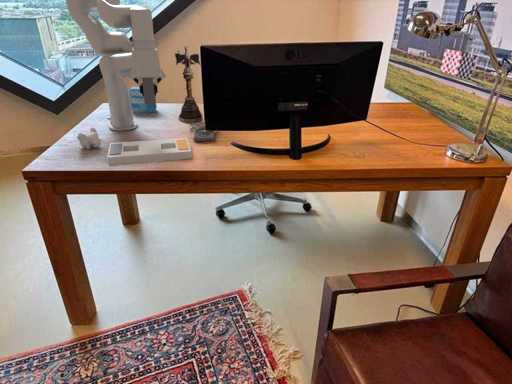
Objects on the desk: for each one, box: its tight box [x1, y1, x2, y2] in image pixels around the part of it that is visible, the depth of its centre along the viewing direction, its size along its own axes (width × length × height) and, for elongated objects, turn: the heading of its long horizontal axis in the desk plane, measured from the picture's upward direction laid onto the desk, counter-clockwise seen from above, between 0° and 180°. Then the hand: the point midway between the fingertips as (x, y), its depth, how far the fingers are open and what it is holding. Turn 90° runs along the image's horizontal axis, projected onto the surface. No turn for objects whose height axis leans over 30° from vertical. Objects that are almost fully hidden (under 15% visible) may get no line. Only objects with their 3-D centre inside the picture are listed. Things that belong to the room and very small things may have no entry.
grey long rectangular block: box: [142, 78, 155, 104], centre depth 139 cm, size 4×4×14 cm
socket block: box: [107, 137, 192, 166], centre depth 139 cm, size 30×14×3 cm, turn 106°
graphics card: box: [189, 122, 216, 141], centre depth 159 cm, size 17×4×12 cm
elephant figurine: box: [76, 127, 104, 150], centre depth 142 cm, size 8×10×7 cm
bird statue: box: [174, 45, 203, 124], centre depth 172 cm, size 17×13×35 cm
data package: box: [129, 86, 157, 113], centre depth 183 cm, size 12×4×12 cm, turn 95°
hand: (149, 94), depth 141 cm, fingers closed on grey long rectangular block, 4 cm apart
